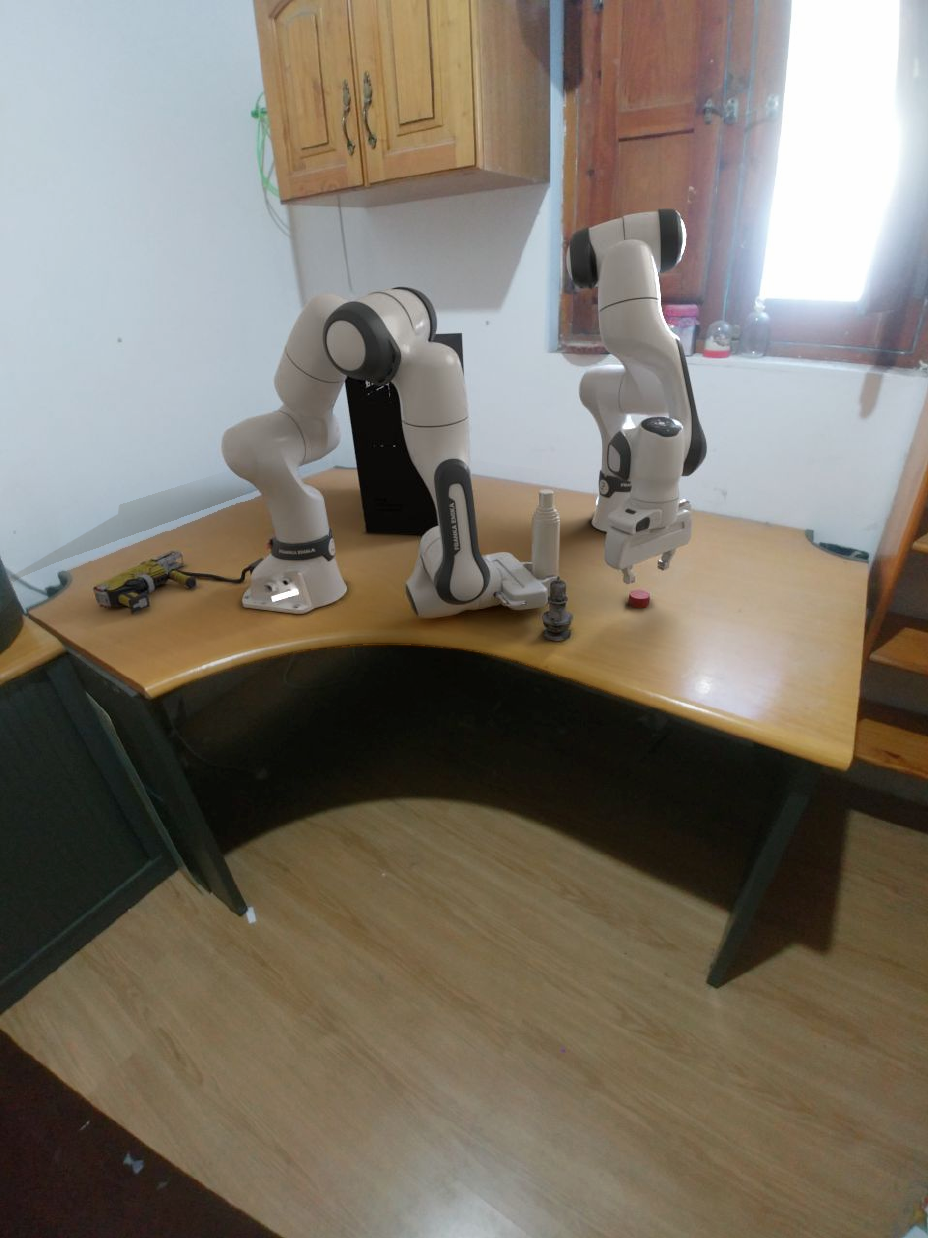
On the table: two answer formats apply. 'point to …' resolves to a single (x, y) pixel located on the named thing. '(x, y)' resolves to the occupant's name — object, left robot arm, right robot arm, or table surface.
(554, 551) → the bottle
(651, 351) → the right robot arm
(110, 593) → the toy gun
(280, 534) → the left robot arm
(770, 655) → the table surface
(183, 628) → the table surface
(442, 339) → the black tall box
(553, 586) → the grey stepped cylinder
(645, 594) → the cap
